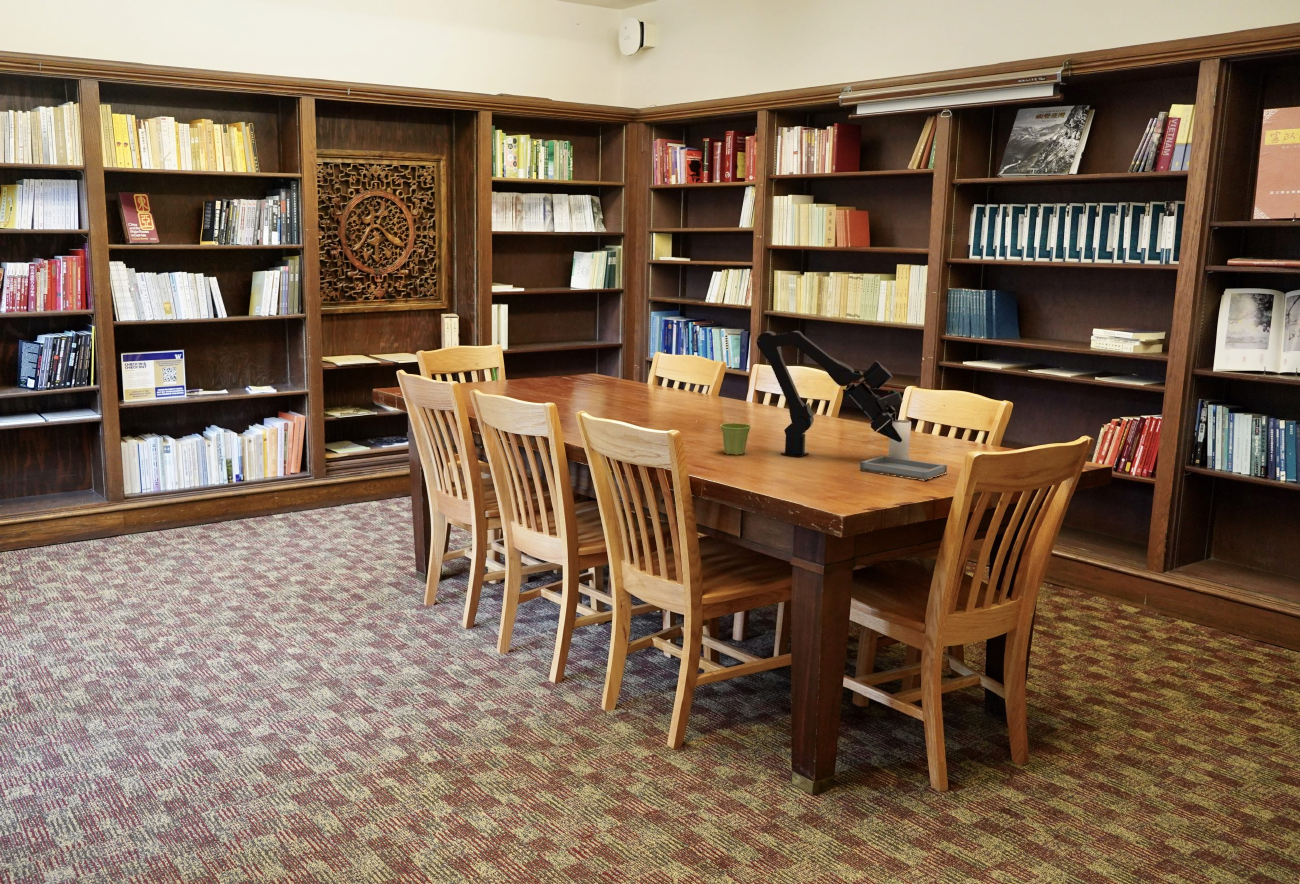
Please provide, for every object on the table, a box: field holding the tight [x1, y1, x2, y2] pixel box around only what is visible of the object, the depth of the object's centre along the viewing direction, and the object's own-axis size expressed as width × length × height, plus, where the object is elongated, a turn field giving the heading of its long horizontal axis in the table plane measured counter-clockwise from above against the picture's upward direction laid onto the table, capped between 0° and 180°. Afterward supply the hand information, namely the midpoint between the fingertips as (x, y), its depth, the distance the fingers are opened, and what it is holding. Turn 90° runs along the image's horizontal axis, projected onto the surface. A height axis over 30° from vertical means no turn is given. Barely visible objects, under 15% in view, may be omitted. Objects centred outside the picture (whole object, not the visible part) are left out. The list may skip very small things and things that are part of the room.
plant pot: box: [719, 422, 752, 455], centre depth 339 cm, size 9×9×9 cm
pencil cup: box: [887, 419, 912, 460], centre depth 331 cm, size 6×6×12 cm
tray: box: [859, 455, 948, 480], centre depth 318 cm, size 14×20×2 cm
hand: (902, 438), depth 331 cm, fingers open, 9 cm apart
